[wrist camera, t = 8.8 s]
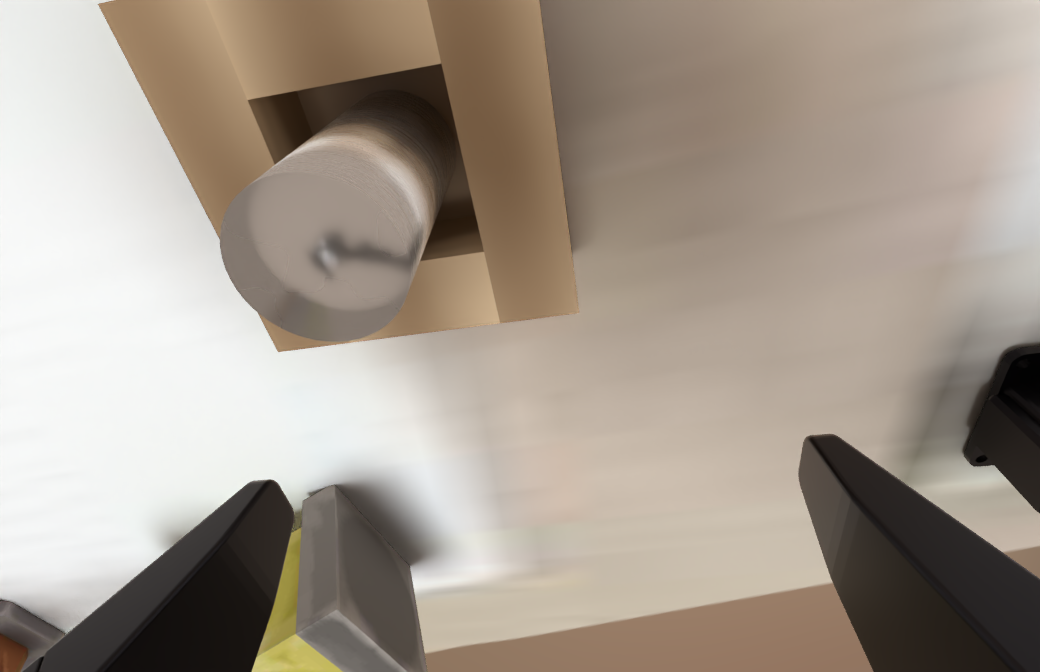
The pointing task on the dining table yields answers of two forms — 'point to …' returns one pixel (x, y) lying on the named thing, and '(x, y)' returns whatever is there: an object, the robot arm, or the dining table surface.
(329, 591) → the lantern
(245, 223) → the pin
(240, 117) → the bore block
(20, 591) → the dining table surface
